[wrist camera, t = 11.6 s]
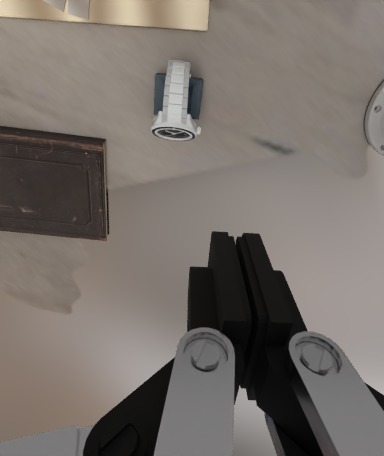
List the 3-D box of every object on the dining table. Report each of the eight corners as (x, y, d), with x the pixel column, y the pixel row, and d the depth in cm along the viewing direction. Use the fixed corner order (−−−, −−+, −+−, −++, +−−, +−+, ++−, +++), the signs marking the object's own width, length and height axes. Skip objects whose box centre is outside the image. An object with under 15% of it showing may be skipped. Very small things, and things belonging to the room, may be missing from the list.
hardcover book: (109, 233, 48) (106, 241, 46) (-34, 219, 47) (-44, 226, 45) (106, 137, 40) (102, 142, 38) (-67, 116, 38) (-81, 119, 36)
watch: (155, 125, 39) (145, 148, 29) (158, 56, 35) (146, 57, 25) (196, 130, 39) (199, 154, 30) (204, 62, 35) (210, 65, 26)
